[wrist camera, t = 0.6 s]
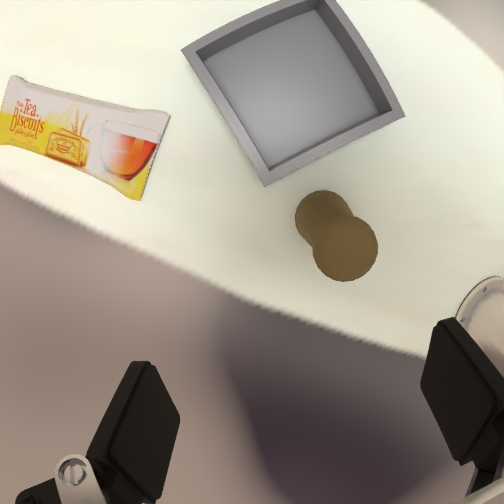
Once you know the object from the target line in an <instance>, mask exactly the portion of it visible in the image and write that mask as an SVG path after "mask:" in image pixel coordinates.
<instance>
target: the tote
mask: <svg viewBox="0 0 504 504" xmlns="http://www.w3.org/2000/svg"><path fill="white" fill-rule="evenodd" d="M181 51H182V53H183V54H184V56H185V57H186V59H187V60H188V62H189V63H190V65H191V67H192V68H193V70H194V71H195V73H196V74H197V76H198V77H199V79H200V80H201V82H202V84H203V85H204V87H205V88H206V90H207V91H208V93H209V95H210V96H211V98H212V99H213V101H214V103H215V104H216V106H217V107H218V109H219V111H220V112H221V114H222V115H223V117H224V119H225V120H226V122H227V124H228V125H229V127H230V128H231V130H232V132H233V133H234V135H235V137H236V138H237V140H238V142H239V143H240V145H241V147H242V148H243V150H244V152H245V153H246V155H247V157H248V159H249V160H250V162H251V164H252V165H253V167H254V169H255V170H256V172H257V174H258V176H259V177H260V179H261V181H262V183H263V184H264V186H267V185H269V184H271V183H273V182H275V181H276V180H278V179H280V178H282V177H284V176H286V175H288V174H290V173H291V172H293V171H295V170H297V169H299V168H301V167H303V166H305V165H307V164H309V163H311V162H312V161H314V160H316V159H318V158H320V157H322V156H324V155H326V154H328V153H330V152H332V151H334V150H336V149H338V148H340V147H342V146H344V145H346V144H348V143H350V142H352V141H354V140H356V139H358V138H360V137H362V136H364V135H367V134H369V133H371V132H373V131H375V130H377V129H379V128H381V127H383V126H386V125H388V124H390V123H392V122H394V121H396V120H398V119H401V118H403V117H405V114H404V112H403V110H402V108H401V106H400V104H399V102H398V100H397V98H396V96H395V94H394V92H393V90H392V88H391V86H390V84H389V82H388V80H387V79H386V77H385V75H384V73H383V71H382V70H381V68H380V66H379V64H378V63H377V61H376V59H375V58H374V56H373V54H372V53H371V51H370V49H369V48H368V46H367V45H366V43H365V42H364V40H363V38H362V37H361V35H360V34H359V32H358V31H357V29H356V28H355V26H354V25H353V24H352V22H351V21H350V19H349V18H348V16H347V15H346V14H345V12H344V11H343V10H342V8H341V7H340V6H339V4H338V3H337V2H336V0H280V1H277V2H275V3H272V4H270V5H267V6H265V7H262V8H260V9H258V10H255V11H253V12H251V13H249V14H246V15H244V16H242V17H240V18H238V19H236V20H234V21H232V22H230V23H228V24H226V25H224V26H222V27H220V28H218V29H216V30H214V31H212V32H210V33H208V34H207V35H205V36H203V37H201V38H200V39H198V40H196V41H194V42H193V43H191V44H189V45H188V46H186V47H184V48H183V49H181Z"/></svg>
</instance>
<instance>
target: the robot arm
mask: <svg viewBox="0 0 504 504" xmlns="http://www.w3.org/2000/svg"><path fill="white" fill-rule="evenodd" d="M420 386H421V390H422V392H423V394H424V396H425V398H426V400H427V402H428V404H429V406H430V408H431V411H432V413H433V415H434V417H435V419H436V421H437V423H438V425H439V427H440V430H441V432H442V434H443V436H444V438H445V441H446V442H447V445H448V447H449V449H450V452H451V454H452V457H453V458H454V460H456V461H459V464H460V466H462V465H464V464H466V463H468V462H470V461H472V460H473V462H474V464H475V469H474V473H473V475H472V478H471V481H470V484H469V486H468V489H467V492H466V494H465V497H464V498H462V499H459V500H457V501H455V502H453V503H451V504H504V279H502V278H500V277H492V278H489V279H487V280H485V281H483V282H482V283H480V284H479V285H478V286H477V287H476V288H474V289H473V291H472V292H471V293H470V294H469V295H468V296H467V298H466V299H465V301H464V302H463V304H462V305H461V307H460V309H459V311H458V314H457V316H456V319H455V318H454V317H451V318H447V319H444V320H440V321H438V323H437V325H436V326H435V327H434V328H433V331H432V336H431V341H430V345H429V350H428V354H427V358H426V363H425V366H424V371H423V374H422V378H421V383H420ZM179 424H180V415H179V413H178V411H177V409H176V407H175V405H174V403H173V401H172V399H171V397H170V396H169V393H168V391H167V389H166V388H165V385H164V383H163V381H162V379H161V377H160V375H159V373H158V371H157V369H156V367H155V366H154V365H151V363H150V362H148V361H133V362H131V364H130V365H129V367H128V369H127V371H126V373H125V375H124V377H123V379H122V381H121V383H120V385H119V386H118V388H117V390H116V392H115V394H114V396H113V398H112V401H111V402H110V404H109V406H108V408H107V410H106V412H105V415H104V417H103V419H102V421H101V423H100V425H99V427H98V429H97V431H96V433H95V435H94V438H93V440H92V442H91V444H90V446H89V449H88V451H87V455H86V457H83V456H81V455H74V454H73V455H69V456H67V457H65V458H63V459H62V460H61V461H60V462H59V463H58V464H57V466H56V468H55V472H54V475H55V478H52V479H50V480H48V481H45V482H43V483H41V484H38V485H36V486H33V487H31V488H28V489H26V490H24V491H22V492H21V493H20V494H19V495H18V496H17V498H16V502H15V504H142V503H145V504H155V503H156V499H159V498H160V497H161V495H162V491H163V487H164V483H165V479H166V475H167V471H168V467H169V463H170V459H171V455H172V451H173V447H174V443H175V440H176V436H177V432H178V428H179Z"/></svg>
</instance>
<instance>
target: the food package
mask: <svg viewBox="0 0 504 504" xmlns="http://www.w3.org/2000/svg"><path fill="white" fill-rule="evenodd" d="M169 117H170V116H168V115H167V114H166V113H163V112H160V111H156V110H139V109H133V108H128V107H124V106H119V105H115V104H110V103H106V102H101V101H97V100H93V99H89V98H85V97H81V96H77V95H73V94H69V93H65V92H61V91H56V90H52V89H49V88H45V87H41V86H38V85H34V84H31V83H28V82H25V81H24V80H22V79H21V78H19V77H17V76H11V77H10V78H9V82H8V85H7V89H6V92H5V95H4V99H3V102H2V105H1V111H0V145H13V146H16V147H20V148H23V149H26V150H29V151H32V152H35V153H38V154H40V155H43V156H45V157H48V158H50V159H53V160H55V161H58V162H60V163H63V164H65V165H68V166H70V167H73V168H75V169H77V170H79V171H82V172H84V173H86V174H88V175H90V176H93V177H95V178H97V179H99V180H101V181H103V182H105V183H107V184H109V185H111V186H112V187H114V188H115V189H117V190H118V191H119V192H121V193H122V194H123V195H125V196H126V197H128V198H130V199H133V200H140V198H141V196H142V195H141V194H143V193H142V192H143V189H144V185H145V184H146V183H145V181H147V178H146V177H148V173H149V172H150V171H149V169H150V168H151V164H153V163H152V160H154V156H155V152H156V151H157V148H158V147H159V146H158V144H159V143H160V139H161V138H162V137H161V135H163V131H164V130H165V128H164V127H166V124H167V123H166V122H168V121H167V120H169Z"/></svg>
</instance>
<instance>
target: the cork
mask: <svg viewBox="0 0 504 504" xmlns="http://www.w3.org/2000/svg"><path fill="white" fill-rule="evenodd" d="M295 221H296V227H297V229H298V231H299V233H300V235H301V236H302V237H303V238H304V239H305V240H306V241H307V242H308V243H309V244H310V245H311V246H312V247H313V257H314V259H315V262H316V264H317V266H318V268H319V269H320V270H321V271H322V272H323V273H324V274H325V275H326V276H328V277H329V278H331V279H333V280H336V281H342V282H345V281H353V280H355V279H358V278H360V277H362V276H363V275H364V274H366V273H367V272H368V271H369V270H370V268H371V267H372V265H373V264H374V263H375V260H376V257H377V254H378V243H377V240H376V237H375V234H374V231H373V230H372V229H371V227H370V226H369V225H368V224H367V223H366V222H364V221H363V220H361V219H360V218H358V217H354V216H353V214H352V212H351V210H350V209H349V207H348V205H347V204H346V202H345V201H344V200H343V199H342V197H340V196H339V195H337V194H336V193H334V192H330V191H326V190H324V191H316V192H314V193H311V194H309V195H308V196H306V197H305V198H304V199H303V200H302V201H301V203H300V204H299V206H298V208H297V211H296V215H295Z"/></svg>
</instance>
